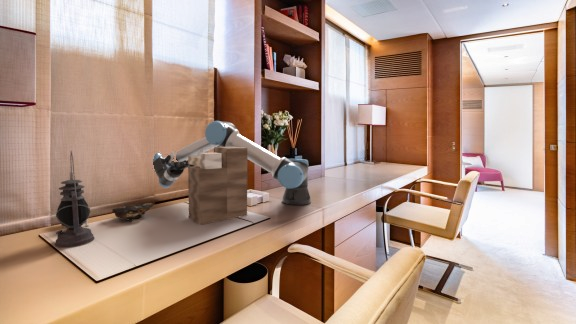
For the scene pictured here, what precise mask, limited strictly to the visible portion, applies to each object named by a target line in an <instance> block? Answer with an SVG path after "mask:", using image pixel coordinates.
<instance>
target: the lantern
mask: <svg viewBox="0 0 576 324" xmlns="http://www.w3.org/2000/svg"><path fill="white" fill-rule="evenodd" d="M69 156H70V159H69V160H70V174H69V179H68V180H63V181H61V182H60V184H62V185H63V186H61V187H59V188H58V190H60V192H59V195H60V196H62V198H60V202H59V205H58V207H57V210H56V212H55V218H56V219H57V221H58V222H59V223H60V224H61V227H65V228H66V229H65V230H62V229H59V230H58V231H56V232H55V234H56V235H57V238H56V239H55V244H54V246H55V247H57V248H61V249H64V248H66V249H67V248H74V247H80V246H83V245H86V244H89V243H91V242H93V241H94V240H95V236H94V233H92V230H91V229H90V228H88V227H83V226H84V225H85V224H86V222H87V223H88V220H89V218H90V214H91V208H90V207H89V204H88V202H87V201H86V200H85V196H83V195H82V194H84V193H85V190H84V188H85V185H82V184H79V183H82V182H83V180H80V179H76V175H75V164H74V156H73V151H72V150H70V155H69ZM89 208H90V209H89ZM86 220H87V221H86Z"/></svg>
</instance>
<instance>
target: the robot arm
mask: <svg viewBox="0 0 576 324" xmlns="http://www.w3.org/2000/svg"><path fill="white" fill-rule="evenodd" d="M204 134H205V135H204V137H203V138H200V139H198V140H196V141H194V142H192V143H190V144H188V145H186V146H184V147H182V148H180V149H178V150H179V151H178V150H177V151H178V152H177V154H176V160H177V161H178V162H174V161H172V160H173V159H174V157H175V153H174V152H175V150H172V151H171V152H170V153H169V154H170V155H168V154H167V155H168V156H167V157H163V156H162V155H163V154H162V153H161V152H160V153H161V154H160V153H156V154H155V156H154V159H153V165H154V169H155V171H154V173H155V172H156V173H155V174H156V176H157V177H158V180H159V182H158V184H160V185H159V186H160V187H162V188H163V189H164V188H165V189H167V188H170V187H171V186H172V185H174V184H175V182H176V181H177V180H178V179H179V178H180V177H181V176H182V174H183V173H184V171H185V169H186V168H187V169H188V167H192V166H195V165H191V164H188V156H199V157H200V153H208V151H211V150H213V149H214V147H244V148H248V153H247V161H248V160H249V161H250V162H251V163H254V164H255V165H256V166H258V167H261V169H264V170H265V171H267V172H268V173H271V175H272V176H271V177H272V178H273V179H275V180H277V181H278V182H279V184H280V185H281V186H282V187H283V188H285V189H284V193H283V195H282V197H281V198H282V201H281V202H282V203H284V204H286V205H290V206H292V205H293V206H302V205H303V206H304V205H309V204H311V202H312V198H311V195H310V191H309V188H308V187H309V185H308V184H309V166H310V165H309V160H308V159H304V158H303V159H301V158H287V157H285V156H283V157H280V156H277V155H276V154H274V153H272V152H271V151H269V150H267V149H266V148H264V147H262V146H260V145H259V144H257V143H256V142H253V141H252V140H250V139H248V138H247V137H245V136H243V135H241V133H240V131H239V130H238V128H237V127H236V125H235V124H233V123H232V122H230V121H220V120H214V121H211V122H209V123H208V124H207V125H206V127H205V131H204Z"/></svg>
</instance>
